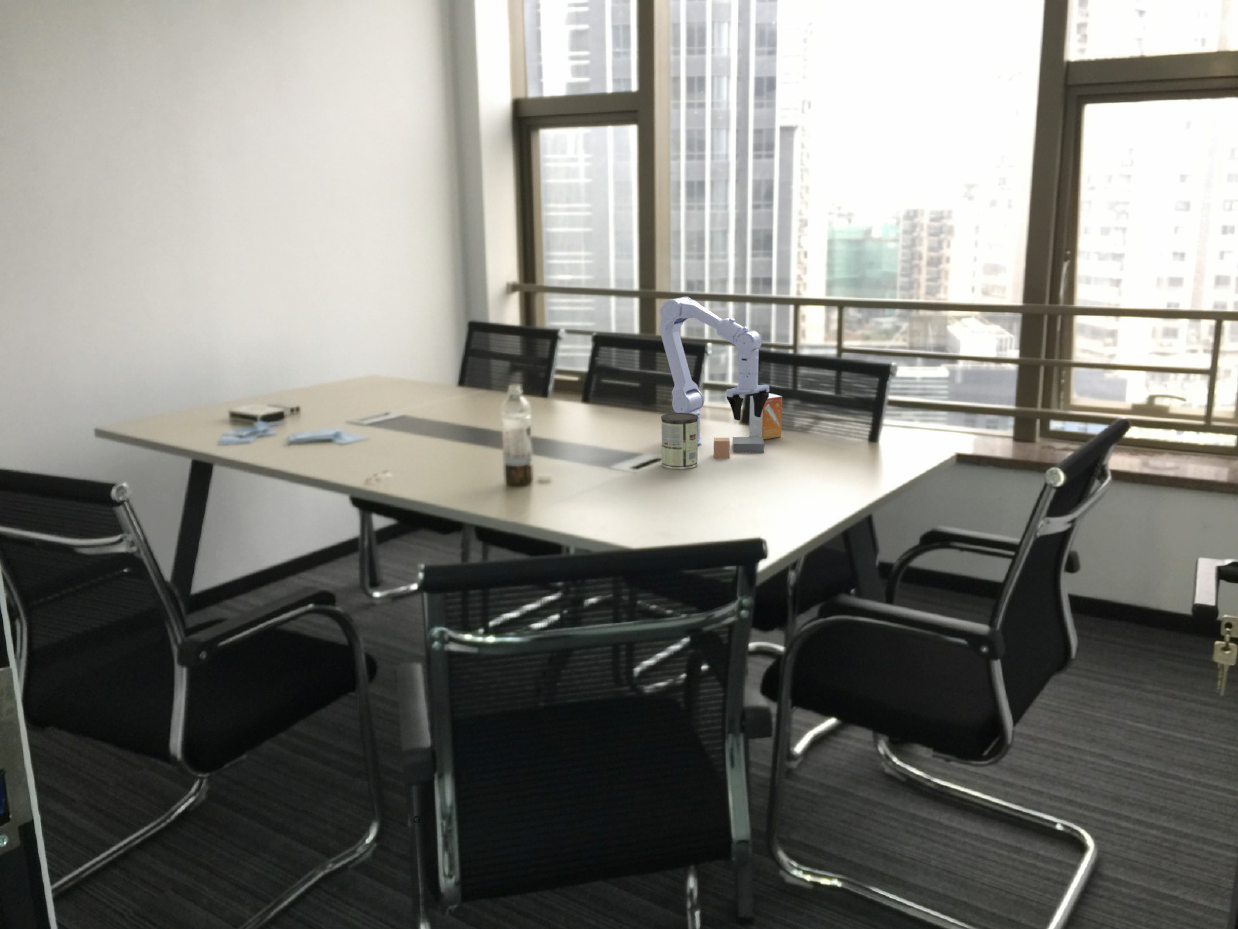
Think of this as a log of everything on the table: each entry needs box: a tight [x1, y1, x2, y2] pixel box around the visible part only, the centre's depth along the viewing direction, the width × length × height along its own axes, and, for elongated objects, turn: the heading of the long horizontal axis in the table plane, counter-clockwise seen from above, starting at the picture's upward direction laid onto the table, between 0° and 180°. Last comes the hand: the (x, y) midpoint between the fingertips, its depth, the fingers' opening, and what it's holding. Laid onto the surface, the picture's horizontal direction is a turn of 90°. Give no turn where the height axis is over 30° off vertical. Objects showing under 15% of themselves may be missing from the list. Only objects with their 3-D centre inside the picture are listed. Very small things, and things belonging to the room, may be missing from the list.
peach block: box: [713, 437, 731, 459], centre depth 311 cm, size 4×4×5 cm
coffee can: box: [660, 412, 699, 470], centre depth 300 cm, size 10×10×14 cm
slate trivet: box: [732, 436, 765, 453], centre depth 319 cm, size 9×9×3 cm
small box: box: [748, 392, 783, 440], centre depth 333 cm, size 8×6×13 cm
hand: (747, 418), depth 316 cm, fingers open, 7 cm apart
